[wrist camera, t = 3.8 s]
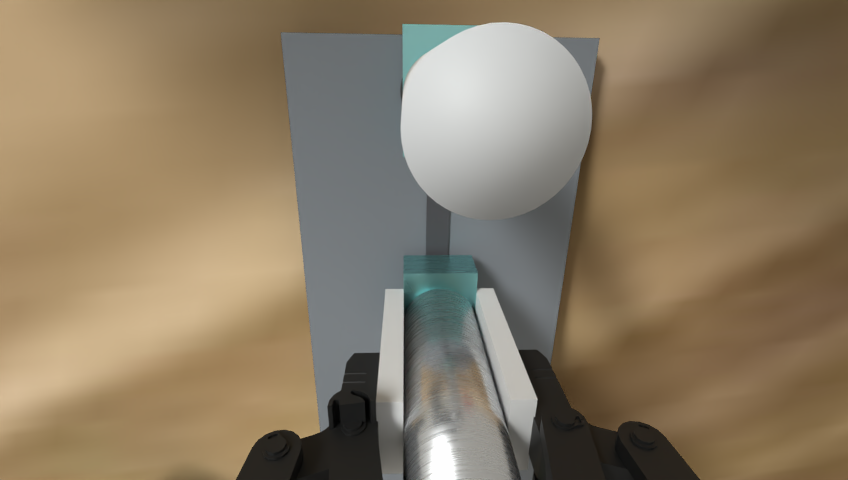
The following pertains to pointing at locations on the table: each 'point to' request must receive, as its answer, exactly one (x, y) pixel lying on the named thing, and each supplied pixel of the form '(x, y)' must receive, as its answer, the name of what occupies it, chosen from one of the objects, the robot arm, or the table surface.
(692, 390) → the table surface
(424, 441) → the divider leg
